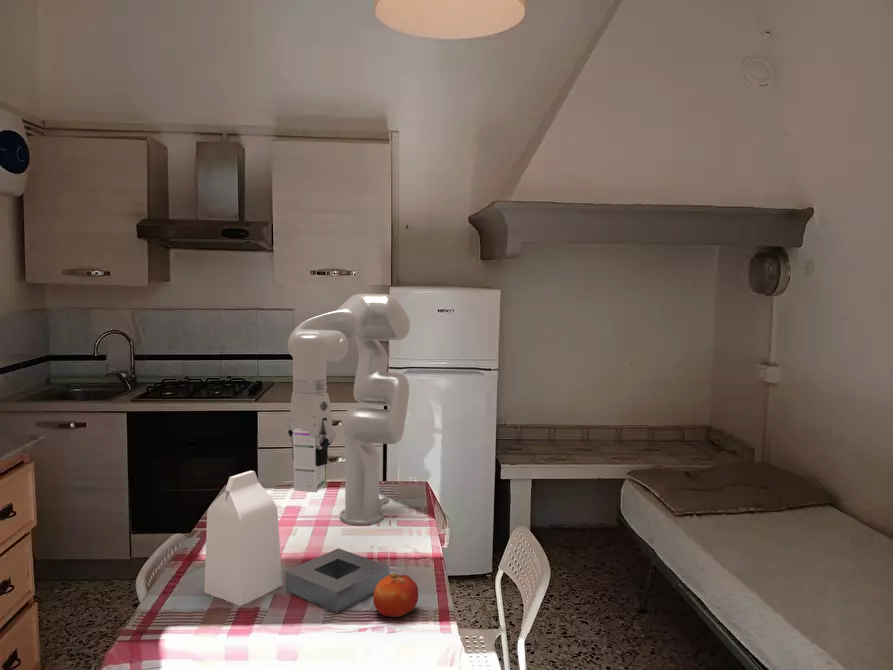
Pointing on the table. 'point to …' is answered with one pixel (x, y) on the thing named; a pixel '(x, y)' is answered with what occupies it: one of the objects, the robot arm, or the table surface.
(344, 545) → the table surface
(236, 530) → the milk
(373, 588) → the bore block
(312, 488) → the syrup box
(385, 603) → the tomato
